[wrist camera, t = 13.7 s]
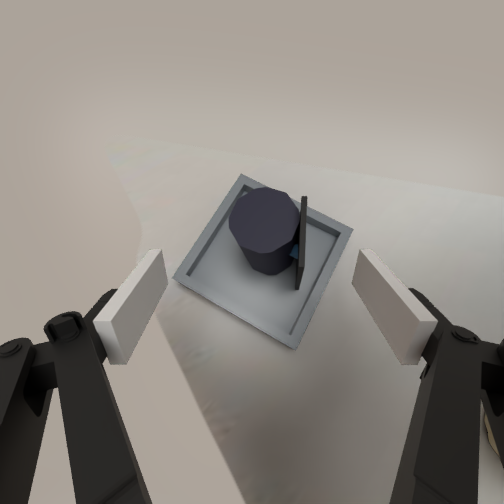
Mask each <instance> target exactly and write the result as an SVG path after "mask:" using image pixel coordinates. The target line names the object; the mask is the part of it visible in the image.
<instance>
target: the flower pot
mask: <svg viewBox="0 0 504 504" xmlns="http://www.w3.org/2000/svg"><path fill="white" fill-rule="evenodd" d="M484 421H485V424H486V427H487V431H488V437H489V438H488V439H489V442H490V444H491V446H492V448H493V449H494V451H495V452H496V453H497V455H498V456H499V453H498V450H497V447H496V444H495V440H494V437H493V434H492V431H491V428H490V425H489V422H488V419H487V416H486V413H485V420H484ZM499 457H500V456H499Z"/></svg>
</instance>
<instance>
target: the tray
mask: <svg viewBox="0 0 504 504" xmlns="http://www.w3.org/2000/svg"><path fill="white" fill-rule="evenodd" d="M262 187H267V186H265V185H263V184H261V183H259V182H257V181H255V180H253V179H251V178H249V177H247V176H245V175H243V174H241V175H240V176H239V178H238V179H237V181H236V182H235V184H234V185H233V187H232V188H231V190H230V191H229V193H228V194H227V196H226V197H225V199H224V200H223V202H222V203H221V205H220V206H219V208H218V209H217V211H216V212H215V214H214V215H213V217H212V218H211V220H210V221H209V223H208V224H207V226H206V227H205V229H204V230H203V232H202V233H201V235H200V236H199V238H198V239H197V241H196V242H195V244H194V245H193V247H192V248H191V250H190V251H189V253H188V254H187V256H186V257H185V259H184V261H183V262H182V264H181V265H180V267H179V268H178V270H177V271H176V273H175V274H174V276H173V277H172V278H173V279H174V280H176V281H178V282H179V283H181V284H183V285H184V286H186V287H188V288H189V289H191V290H193V291H195V292H196V293H198V294H200V295H201V296H203V297H205V298H207V299H208V300H210V301H212V302H213V303H215V304H217V305H219V306H220V307H222V308H224V309H225V310H227V311H229V312H230V313H232V314H234V315H236V316H237V317H239V318H241V319H242V320H244V321H246V322H248V323H249V324H251V325H253V326H254V327H256V328H258V329H259V330H261V331H263V332H265V333H266V334H268V335H270V336H271V337H273V338H275V339H277V340H278V341H280V342H282V343H283V344H285V345H287V346H288V347H290V348H292V349H294V350H295V351H296V349H297V347H298V345H299V343H300V341H301V338H302V336H303V334H304V332H305V330H306V328H307V326H308V324H309V322H310V320H311V317H312V315H313V313H314V311H315V309H316V307H317V305H318V303H319V301H320V299H321V296H322V294H323V292H324V290H325V288H326V286H327V284H328V282H329V280H330V278H331V275H332V273H333V271H334V269H335V267H336V265H337V263H338V261H339V259H340V257H341V254H342V252H343V250H344V248H345V246H346V244H347V242H348V240H349V238H350V236H351V233H352V231H353V229H352V228H350V227H348V226H346V225H344V224H342V223H340V222H338V221H336V220H334V219H332V218H330V217H328V216H326V215H324V214H322V213H320V212H318V211H316V210H314V209H312V208H310V207H308V206H307V219H306V247H305V268H304V272H303V276H302V280H301V284H300V288H299V290H295V281H296V258H294V260H293V262H292V264H291V266H290V267H288V268H287V269H285V270H284V271H282V272H280V273H279V274H277V275H266V274H263V273H261V272H258V271H256V270H254V269H253V268H252V266H251V265H250V263H249V261H248V260H247V258H246V256H245V255H244V253H243V251H242V250H241V248H240V246H239V245H238V243H237V241H236V239H235V238H234V236H233V234H232V233H231V231H230V229H229V216H230V214H231V212H232V210H233V207H234V205H235V203H236V201H237V199H239V198H240V197H242V196H244V195H245V194H247V193H249V192H250V191H252V190H254V189H255V188H262ZM268 188H269V187H268ZM291 200H292V201H293V202H294V204H295V205H296V206H297V208H298V209H299V216H300V209H301V203H299V202H297V201H295V200H293V199H291Z"/></svg>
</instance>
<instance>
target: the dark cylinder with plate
mask: <svg viewBox="0 0 504 504" xmlns="http://www.w3.org/2000/svg"><path fill="white" fill-rule="evenodd" d="M306 219H307V196H302V198H301V209H300V216H299V209H298V208H297V206H296V205H295V204H294V202H293V201H292V200H291V198H290V197H289V196H288V194H287V193H285V192H282V191H278V190H275V189H272V188H268V187H262V188H255V189H254V190H252V191H250V192H249V193H247V194H245V195H244V196H242V197H240V198H239V199H237V201H236V203H235V205H234V207H233V210H232V212H231V214H230V216H229V229H230V231H231V233H232V234H233V236H234V238H235V239H236V241H237V243H238V245H239V246H240V248H241V250H242V251H243V253H244V255H245V256H246V258H247V260H248V261H249V263H250V265H251V266H252V268H253V269H254V270H256V271H258V272H261V273H263V274H266V275H277V274H279V273H280V272H282V271H284V270H285V269H287V268H288V267H290V266H291V264H292V262H293V260H294V258H296V281H295V290H299V288H300V284H301V280H302V276H303V272H304V268H305V247H306Z"/></svg>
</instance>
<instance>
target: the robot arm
mask: <svg viewBox="0 0 504 504" xmlns="http://www.w3.org/2000/svg"><path fill="white" fill-rule="evenodd" d="M167 285H168V280H167V275H166V269H165V264H164V259H163V254H162V249H150V250H149V251H148V252H147V254H146V255H145V256H144V257H143V259H142V260H141V261H140V262H139V264H138V265H137V266H136V267H135V269H134V270H133V271H132V273H131V274H130V275H129V276H128V277H127V279H126V280H125V281H124V282H123V284H122V285H121V286H120V288H119V289H111V290H110V291H108V292H107V293H105V294H104V295H103V296H102V297H101V298H100V299H99V300H98V302H97V303H96V304H95V305H94V306H93V308H91V310H90V311H89V312H88V313H87V314H86V315H85V317H84V318H82V315H81V314H80V313H79V312H75V311H72V312H66V313H62V314H60V315H58V316H55V317H54V318H52V319H51V320H49V321H48V322H47V323H46V325H45V326H44V332H45V333H46V335H47V337H48V339H49V342H44V343H40V344H36V345H33V344H32V342H31V340H29V339H28V338H18V339H14V340H11V341H8V342H6V343H4V344H3V345H1V346H0V504H28V500H29V496H30V491H31V487H32V482H33V477H34V473H35V469H36V465H37V460H38V456H39V451H40V447H41V442H42V437H43V433H44V429H45V424H46V420H47V415H48V411H49V406H50V402H51V397H52V393H53V389H54V388H57V387H58V389H59V396H60V403H61V409H62V416H63V422H64V428H65V434H66V441H67V447H68V454H69V460H70V467H71V473H72V479H73V485H74V492H75V498H76V504H152V502H151V499H150V496H149V493H148V490H147V488H146V485H145V482H144V479H143V476H142V473H141V471H140V468H139V465H138V462H137V460H136V456H135V454H134V451H133V448H132V445H131V442H130V440H129V437H128V434H127V431H126V428H125V426H124V423H123V420H122V417H121V414H120V412H119V409H118V406H117V403H116V400H115V397H114V395H113V392H112V389H111V386H110V383H109V380H108V378H107V375H106V372H105V370H104V367H103V364H102V363H103V362H104V360H105V358H106V357H107V358H108V360H109V363H110V364H127V362H128V360H129V358H130V356H131V354H132V353H133V351H134V348H135V347H136V345H137V343H138V341H139V339H140V337H141V335H142V333H143V331H144V329H145V327H146V325H147V324H148V321H149V320H150V318H151V316H152V314H153V312H154V310H155V308H156V306H157V304H158V302H159V300H160V298H161V297H162V295H163V293H164V291H165V289H166V287H167ZM352 285H353V286H354V288H355V290H356V291H357V293H358V294H359V296H360V298H361V299H362V301H363V303H364V304H365V306H366V307H367V309H368V311H369V312H370V314H371V316H372V317H373V319H374V321H375V322H376V324H377V325H378V327H379V329H380V330H381V332H382V334H383V335H384V337H385V338H386V340H387V342H388V343H389V345H390V347H391V348H392V350H393V352H394V353H395V355H396V356H397V358H398V360H399V361H400V363H401V365H418V363H419V361H420V358H421V356H423V358H424V359H425V361H426V362H427V364H426V366H425V368H424V370H423V372H422V374H421V376H420V378H419V379H421V384H420V388H419V391H418V395H417V399H416V403H415V407H414V411H413V415H412V418H411V422H410V426H409V430H408V434H407V438H406V442H405V445H404V449H403V453H402V457H401V461H400V465H399V469H398V472H397V476H396V480H395V484H394V488H393V492H392V496H391V499H390V503H389V504H478V470H479V436H480V401H481V400H482V403H483V406H484V409H485V413H486V416H487V419H488V422H489V425H490V428H491V431H492V434H493V437H494V440H495V444H496V447H497V450H498V453H499V456H500V459H501V462H502V465H503V468H504V339H503V340H502V342H501V343H500V345H499V344H495V343H490V342H486V341H481V340H480V339H479V337H478V336H477V335H475V334H474V333H473V332H471V331H469V330H467V329H465V328H463V327H460V326H455V325H452V324H451V323H450V322H449V321H448V320H447V319H446V318H445V317H444V315H443V314H442V313H441V312H440V311H439V310H438V309H437V308H436V307H434V305H433V304H432V303H431V302H429V300H428V299H427V298H426V297H425V296H424V295H423V294H421V293H420V292H418V291H417V290H415V289H413V288H407V287H406V286H405V285H404V284H403V283H402V282H401V281H400V280H399V279H398V277H397V276H396V275H395V274H394V273H393V272H392V271H391V270H390V269H389V268H388V267H387V266H386V265H385V263H384V262H383V261H382V260H381V259H380V258H379V257H378V256H377V255H376V254H375V253H374V252H373V251H372V249H360V250H359V254H358V259H357V263H356V267H355V272H354V276H353V280H352Z"/></svg>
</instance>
